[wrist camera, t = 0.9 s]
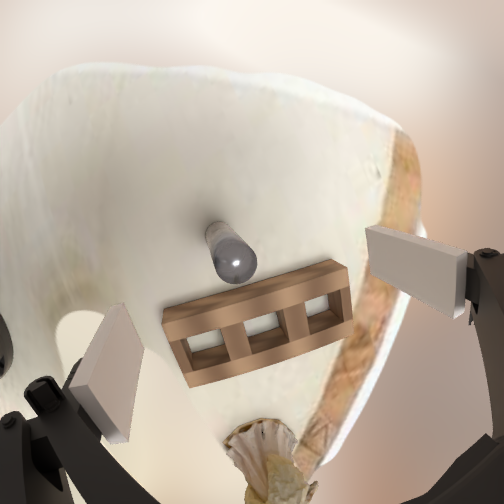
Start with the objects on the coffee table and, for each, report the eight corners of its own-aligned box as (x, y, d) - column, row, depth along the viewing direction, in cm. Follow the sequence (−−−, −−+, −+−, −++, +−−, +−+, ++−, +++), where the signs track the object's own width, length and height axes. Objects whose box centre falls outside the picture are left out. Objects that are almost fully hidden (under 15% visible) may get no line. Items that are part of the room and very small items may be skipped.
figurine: (297, 448, 43) (339, 534, 24) (235, 466, 42) (260, 558, 23) (289, 407, 40) (341, 510, 21) (215, 428, 38) (239, 540, 19)
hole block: (188, 369, 35) (189, 388, 31) (163, 308, 33) (161, 324, 29) (339, 320, 38) (354, 333, 34) (331, 259, 36) (347, 267, 32)
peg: (209, 252, 32) (221, 289, 21) (202, 225, 32) (209, 249, 20) (235, 244, 33) (261, 277, 21) (229, 218, 32) (251, 237, 21)
